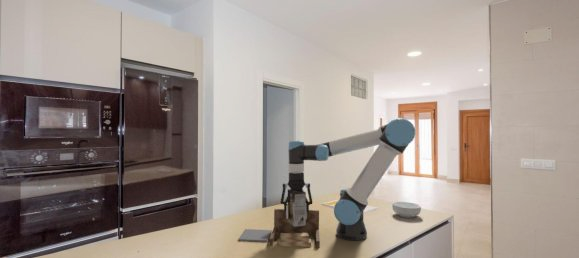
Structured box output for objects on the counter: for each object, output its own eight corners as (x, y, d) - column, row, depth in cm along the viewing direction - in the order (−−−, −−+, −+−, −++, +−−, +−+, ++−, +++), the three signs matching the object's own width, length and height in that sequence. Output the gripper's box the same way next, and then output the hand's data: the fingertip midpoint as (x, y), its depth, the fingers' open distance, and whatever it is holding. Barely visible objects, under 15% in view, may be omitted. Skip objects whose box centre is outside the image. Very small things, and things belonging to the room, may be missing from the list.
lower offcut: (310, 243, 136) (310, 238, 136) (311, 247, 131) (311, 242, 131) (278, 243, 136) (278, 238, 136) (278, 247, 131) (278, 241, 131)
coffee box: (287, 221, 144) (287, 189, 145) (299, 219, 147) (298, 188, 147) (293, 226, 136) (293, 192, 136) (306, 225, 138) (306, 191, 138)
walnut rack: (318, 233, 147) (319, 210, 148) (319, 247, 130) (319, 221, 130) (274, 231, 149) (274, 208, 149) (269, 245, 131) (269, 219, 131)
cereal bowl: (424, 220, 171) (424, 208, 171) (395, 219, 173) (395, 207, 173) (416, 212, 187) (416, 201, 187) (389, 211, 190) (390, 200, 190)
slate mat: (271, 231, 149) (271, 230, 149) (267, 242, 136) (267, 240, 136) (245, 230, 151) (245, 229, 151) (238, 240, 137) (238, 239, 137)
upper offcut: (307, 237, 136) (307, 232, 136) (308, 241, 132) (309, 235, 132) (280, 238, 135) (280, 233, 135) (280, 242, 131) (280, 236, 131)
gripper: (317, 171, 144) (318, 216, 144) (276, 170, 146) (276, 215, 146) (318, 173, 137) (318, 220, 137) (274, 172, 139) (274, 220, 138)
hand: (296, 218), depth 141 cm, fingers closed on coffee box, 8 cm apart
